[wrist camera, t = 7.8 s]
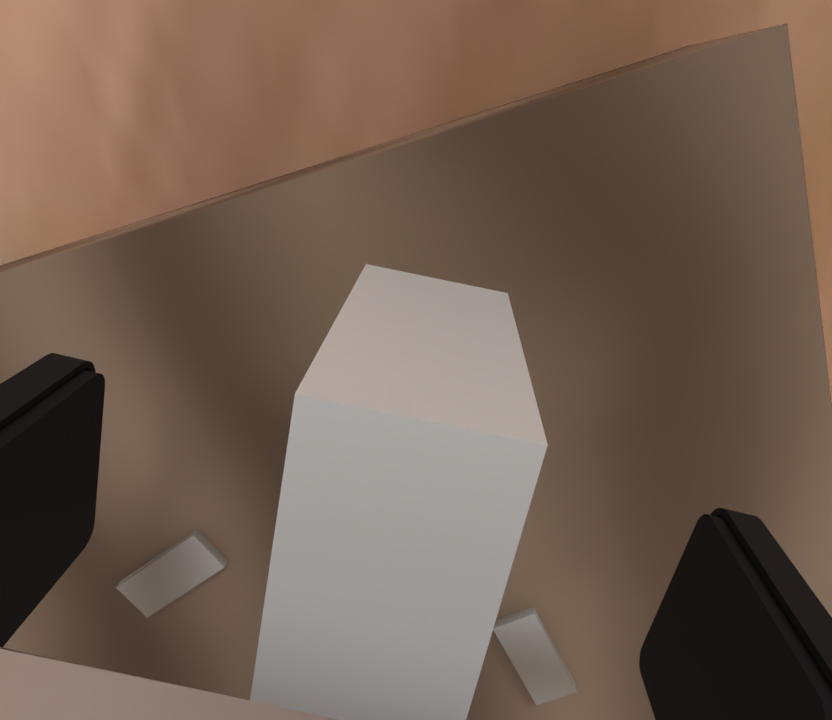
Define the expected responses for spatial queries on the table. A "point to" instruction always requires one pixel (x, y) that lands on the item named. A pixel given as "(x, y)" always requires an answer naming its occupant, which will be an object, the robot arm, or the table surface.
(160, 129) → the table surface
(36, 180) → the table surface
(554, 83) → the table surface
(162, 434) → the brown slab
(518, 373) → the peg
